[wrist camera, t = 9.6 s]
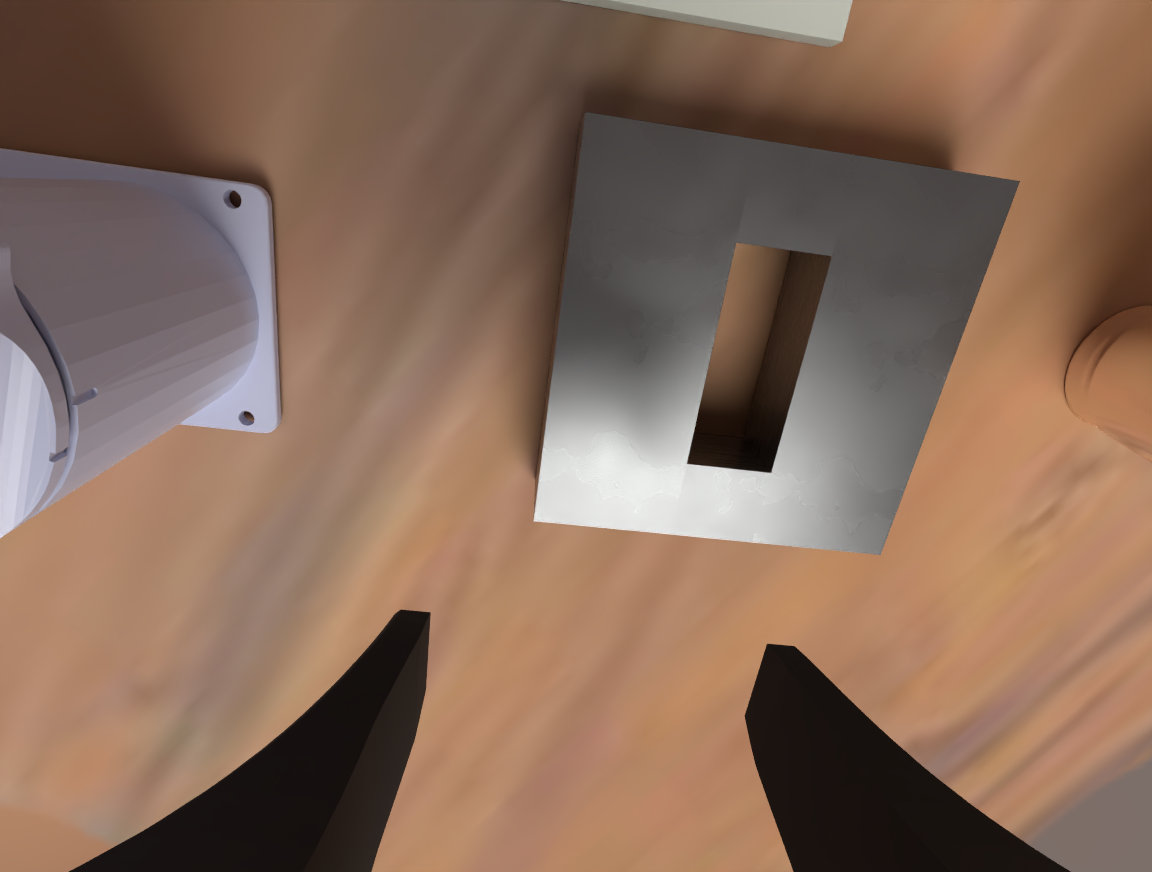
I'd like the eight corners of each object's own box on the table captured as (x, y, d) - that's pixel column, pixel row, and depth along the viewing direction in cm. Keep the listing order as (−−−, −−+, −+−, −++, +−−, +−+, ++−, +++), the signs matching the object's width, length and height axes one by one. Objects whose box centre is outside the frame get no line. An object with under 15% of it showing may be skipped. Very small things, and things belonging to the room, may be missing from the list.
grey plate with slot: (535, 480, 23) (533, 521, 20) (579, 123, 18) (585, 112, 16) (841, 512, 24) (880, 554, 21) (952, 182, 20) (1019, 181, 17)
